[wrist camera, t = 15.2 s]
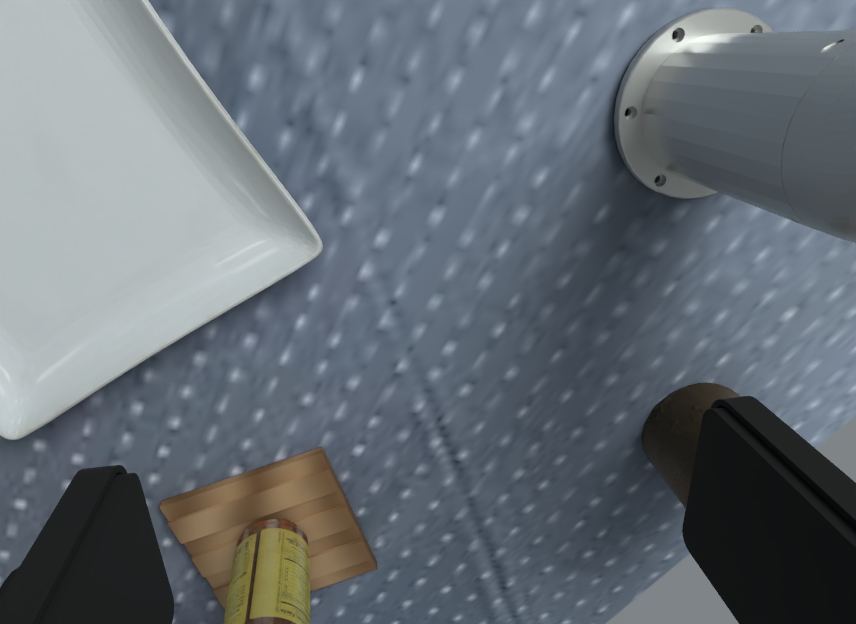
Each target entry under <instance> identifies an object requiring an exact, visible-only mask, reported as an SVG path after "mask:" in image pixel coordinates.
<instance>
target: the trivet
mask: <svg viewBox="0 0 856 624" xmlns="http://www.w3.org/2000/svg"><path fill="white" fill-rule="evenodd" d="M159 508H160V509H161V511H162V512H163V514H164V515H165V517H166V518H167V520H168V525H169V527H170V528H171V530H172V531H173V533H174V534H175V536H176V537H177V539H178V540H179V542H180V543H181V544H184V546H185V547H186V549H187V550H188V552H189V553H190V555H191V556H192V557H191V560H192V561H193V563H194V564H195V566H196V568H197V569H198V571H199V572H200V574H201V575H202V577H203V578H204V577H206V579H207V580H208V582H209V583H210V585H211V586H212V588H213V591H212V592H213V593H214V595H215V596H216V598H217V599H218V601H219V602H220V604H221V605H222V607H223V608H224V609H226V605H227V598H228V591H229V585H230V578H231V571H232V565H233V558H234V554H235V551H236V549H237V542H238V540H239V538H240V536H241V535H242V533H243V532H244V531H245V530H246V529H247V528H248V527H249V526H250V525H252V524H254V523H256V522H258V521H261V520H266V519H287V520H289V521H291V522H293V523H295V524H296V525H297V526H298V527H300V528H301V529H302V530H303V532H304V533H305V534H306V536H307V538H308V547H309V550H310V591H313V590H316V589H319V588H322V587H325V586H328V585H331V584H334V583H337V582H340V581H343V580H346V579H349V578H352V577H355V576H357V575H360V574H363V573H366V572H369V571H372V570H375V569H377V561H376V559H375V557H374V555H373V553H372V551H371V549H370V547H369V545H368V542H367V540H366V538H365V536H364V534H363V532H362V530H361V528H360V526H359V523H358V521H357V519H356V517H355V515H354V513H353V511H352V509H351V507H350V505H349V502H348V500H347V498H346V496H345V494H344V492H343V490H342V488H341V486H340V483H339V481H338V479H337V477H336V475H335V473H334V471H333V469H332V467H331V464H330V462H329V460H328V458H327V456H326V454H325V452H324V450H323V448H322V447H320V448H317V449H314V450H311V451H308V452H305V453H302V454H299V455H296V456H293V457H290V458H287V459H284V460H281V461H278V462H275V463H272V464H269V465H266V466H263V467H260V468H257V469H254V470H252V471H249V472H246V473H243V474H240V475H237V476H234V477H231V478H228V479H225V480H222V481H219V482H216V483H213V484H210V485H207V486H204V487H201V488H198V489H195V490H192V491H189V492H186V493H183V494H180V495H177V496H174V497H172V498H169V499H166V500H163V501H162V502H161V504H160V507H159Z"/></svg>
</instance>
